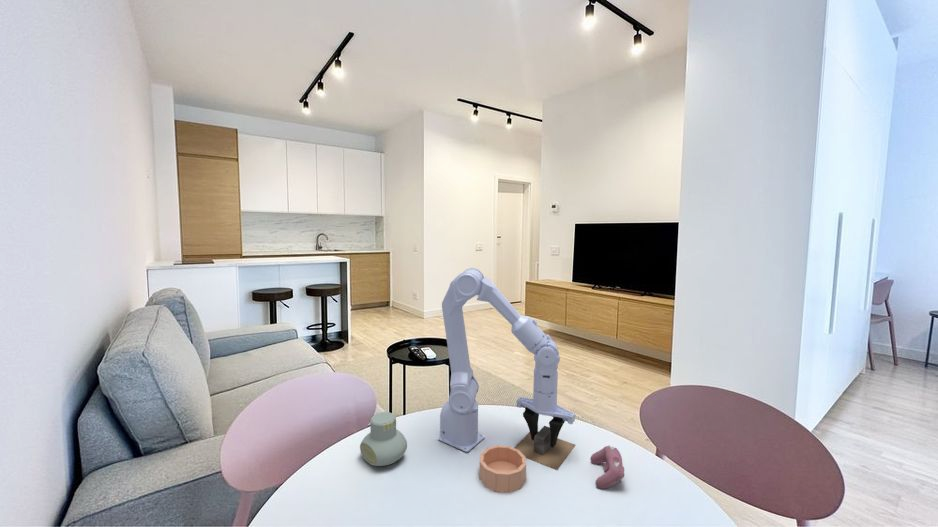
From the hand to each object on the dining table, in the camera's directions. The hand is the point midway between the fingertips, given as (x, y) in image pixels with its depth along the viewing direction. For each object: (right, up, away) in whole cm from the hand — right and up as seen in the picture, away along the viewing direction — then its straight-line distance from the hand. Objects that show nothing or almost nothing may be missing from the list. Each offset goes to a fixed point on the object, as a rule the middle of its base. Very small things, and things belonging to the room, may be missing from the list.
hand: (543, 441), depth 91 cm
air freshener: (-39, -2, -4) cm, 39 cm away
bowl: (-11, -3, -10) cm, 15 cm away
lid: (0, -2, 0) cm, 2 cm away
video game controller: (+12, -3, -10) cm, 16 cm away
